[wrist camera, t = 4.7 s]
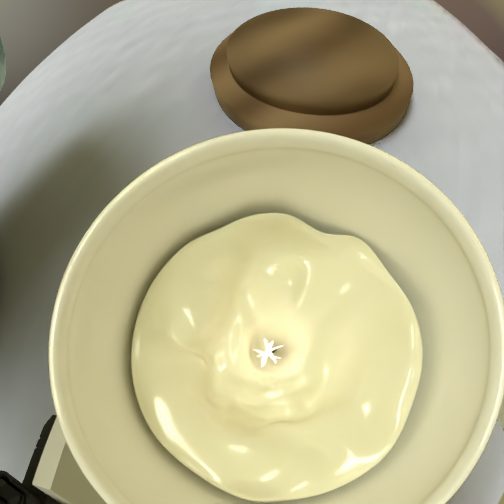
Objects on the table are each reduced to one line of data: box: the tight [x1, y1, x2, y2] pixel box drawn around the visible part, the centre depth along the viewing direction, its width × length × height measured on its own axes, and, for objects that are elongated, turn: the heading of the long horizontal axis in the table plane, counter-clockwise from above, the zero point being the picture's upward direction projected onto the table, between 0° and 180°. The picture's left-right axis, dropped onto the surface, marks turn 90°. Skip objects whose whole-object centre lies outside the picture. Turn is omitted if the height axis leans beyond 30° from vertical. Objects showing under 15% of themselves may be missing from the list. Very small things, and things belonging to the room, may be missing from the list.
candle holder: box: [49, 128, 504, 504], centre depth 11 cm, size 10×10×12 cm
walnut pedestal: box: [210, 8, 413, 144], centre depth 21 cm, size 16×16×4 cm
